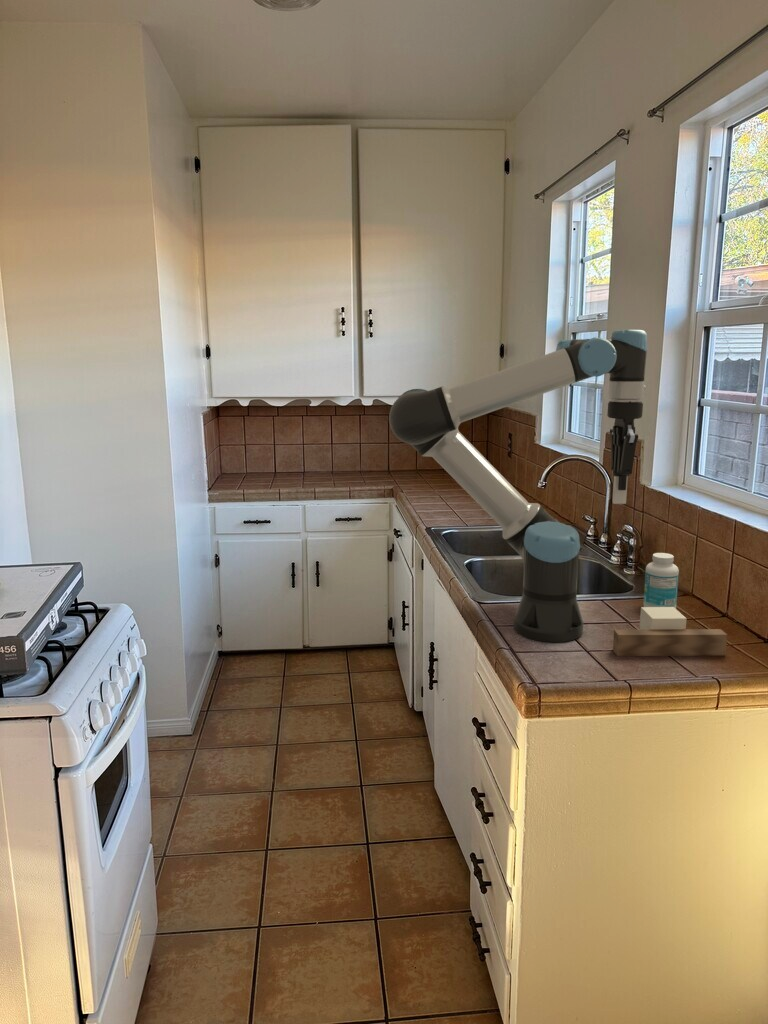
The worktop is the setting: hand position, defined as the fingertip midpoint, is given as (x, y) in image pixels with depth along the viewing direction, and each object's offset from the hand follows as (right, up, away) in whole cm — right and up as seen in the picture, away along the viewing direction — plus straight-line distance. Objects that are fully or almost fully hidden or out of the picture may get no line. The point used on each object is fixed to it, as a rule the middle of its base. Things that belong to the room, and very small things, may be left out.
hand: (619, 503), depth 169 cm
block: (+4, -30, -14) cm, 33 cm away
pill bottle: (+12, -26, +7) cm, 29 cm away
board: (+4, -31, -19) cm, 37 cm away
